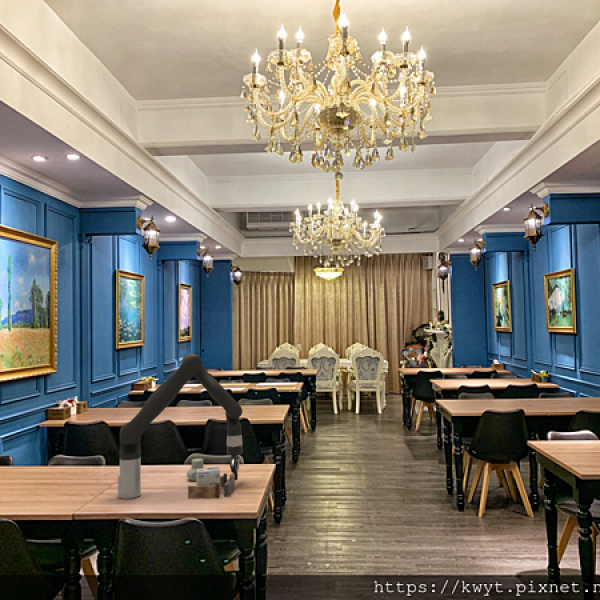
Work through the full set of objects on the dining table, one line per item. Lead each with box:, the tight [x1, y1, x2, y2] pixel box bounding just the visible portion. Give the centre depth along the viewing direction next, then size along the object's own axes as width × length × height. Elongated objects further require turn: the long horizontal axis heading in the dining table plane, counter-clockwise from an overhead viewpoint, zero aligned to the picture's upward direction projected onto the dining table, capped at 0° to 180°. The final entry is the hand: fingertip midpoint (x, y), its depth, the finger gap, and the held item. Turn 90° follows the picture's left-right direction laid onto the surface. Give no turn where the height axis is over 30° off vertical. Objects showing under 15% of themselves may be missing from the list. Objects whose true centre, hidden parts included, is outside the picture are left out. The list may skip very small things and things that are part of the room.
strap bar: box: [223, 473, 236, 497], centre depth 252 cm, size 2×14×6 cm, turn 176°
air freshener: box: [186, 458, 205, 482], centre depth 275 cm, size 11×8×10 cm
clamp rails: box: [187, 473, 228, 499], centre depth 252 cm, size 14×18×6 cm
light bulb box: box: [195, 466, 221, 493], centre depth 252 cm, size 11×7×11 cm, turn 108°
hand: (235, 480), depth 264 cm, fingers closed
